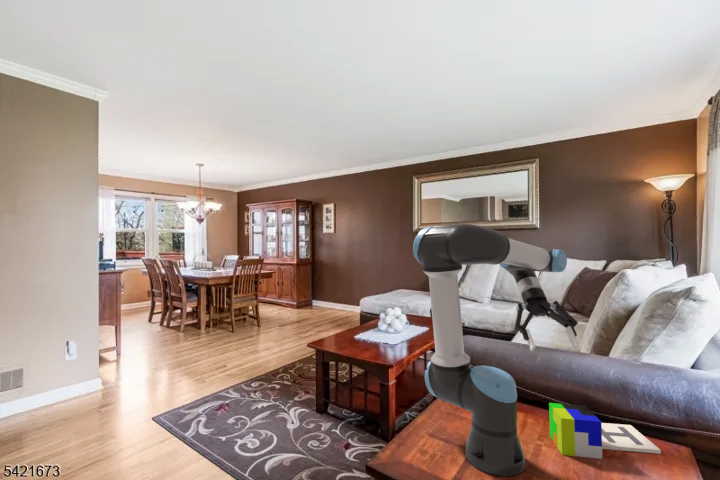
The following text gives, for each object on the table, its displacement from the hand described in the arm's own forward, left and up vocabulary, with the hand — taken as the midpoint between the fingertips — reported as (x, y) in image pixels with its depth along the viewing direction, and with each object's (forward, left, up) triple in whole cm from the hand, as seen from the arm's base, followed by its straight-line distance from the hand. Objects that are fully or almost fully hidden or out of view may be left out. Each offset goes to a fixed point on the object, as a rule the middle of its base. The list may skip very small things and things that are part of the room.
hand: (554, 347), depth 111 cm
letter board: (+15, -4, -25) cm, 30 cm away
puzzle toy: (+1, -11, -25) cm, 28 cm away
